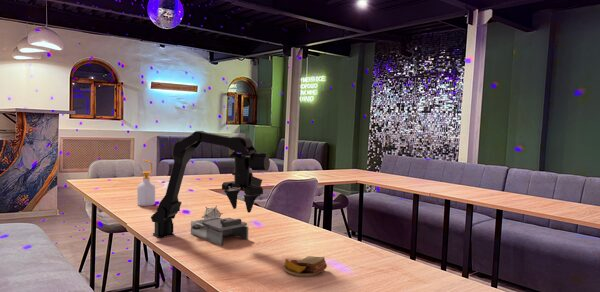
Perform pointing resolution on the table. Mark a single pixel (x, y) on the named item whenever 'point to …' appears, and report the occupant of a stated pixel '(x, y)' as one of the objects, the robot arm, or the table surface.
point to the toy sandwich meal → (305, 266)
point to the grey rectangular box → (216, 231)
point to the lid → (224, 224)
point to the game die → (211, 213)
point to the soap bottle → (146, 190)
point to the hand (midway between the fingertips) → (241, 210)
